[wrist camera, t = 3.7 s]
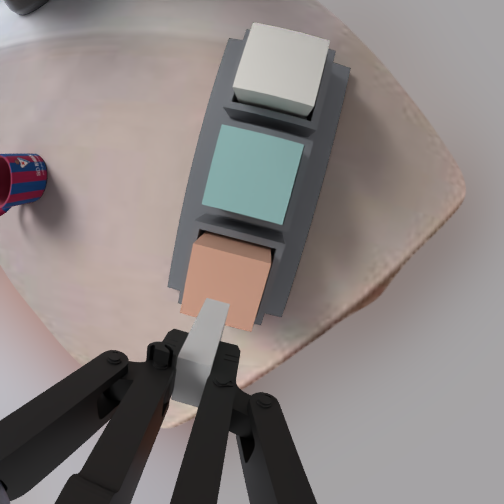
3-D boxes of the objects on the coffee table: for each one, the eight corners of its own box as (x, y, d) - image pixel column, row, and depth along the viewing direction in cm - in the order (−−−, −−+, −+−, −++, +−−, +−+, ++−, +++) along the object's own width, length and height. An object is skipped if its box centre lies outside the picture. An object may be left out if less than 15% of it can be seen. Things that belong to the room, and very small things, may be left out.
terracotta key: (206, 230, 27) (193, 243, 22) (270, 247, 27) (271, 263, 22) (194, 289, 28) (180, 312, 23) (253, 305, 29) (251, 331, 24)
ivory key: (255, 47, 22) (253, 22, 17) (319, 63, 22) (330, 40, 17) (239, 103, 24) (232, 86, 19) (304, 119, 24) (313, 106, 19)
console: (230, 42, 26) (222, 17, 20) (347, 71, 26) (363, 51, 20) (170, 283, 33) (152, 304, 27) (281, 312, 33) (283, 339, 27)
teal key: (230, 134, 25) (221, 124, 20) (296, 150, 25) (304, 144, 20) (214, 198, 26) (201, 204, 21) (279, 215, 26) (282, 225, 21)
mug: (54, 181, 31) (19, 185, 24) (19, 225, 32) (-13, 235, 26) (36, 143, 29) (1, 142, 23) (3, 189, 31) (-29, 195, 25)
